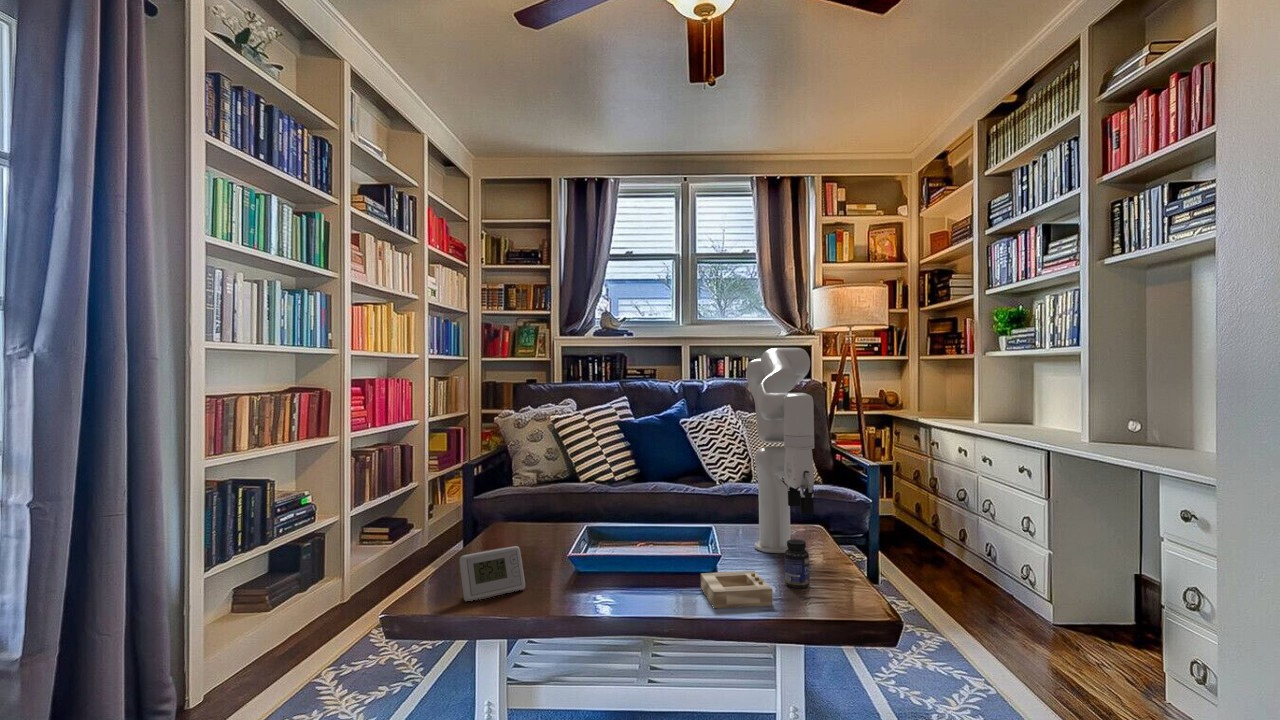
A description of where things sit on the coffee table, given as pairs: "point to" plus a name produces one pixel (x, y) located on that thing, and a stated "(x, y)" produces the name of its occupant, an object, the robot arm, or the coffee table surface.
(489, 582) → the digital clock
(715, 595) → the socket block
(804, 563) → the pill bottle
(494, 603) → the coffee table surface
